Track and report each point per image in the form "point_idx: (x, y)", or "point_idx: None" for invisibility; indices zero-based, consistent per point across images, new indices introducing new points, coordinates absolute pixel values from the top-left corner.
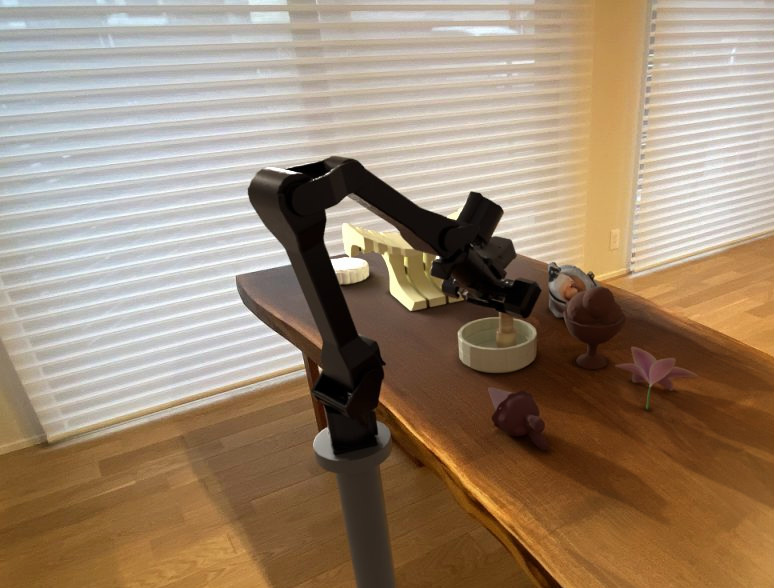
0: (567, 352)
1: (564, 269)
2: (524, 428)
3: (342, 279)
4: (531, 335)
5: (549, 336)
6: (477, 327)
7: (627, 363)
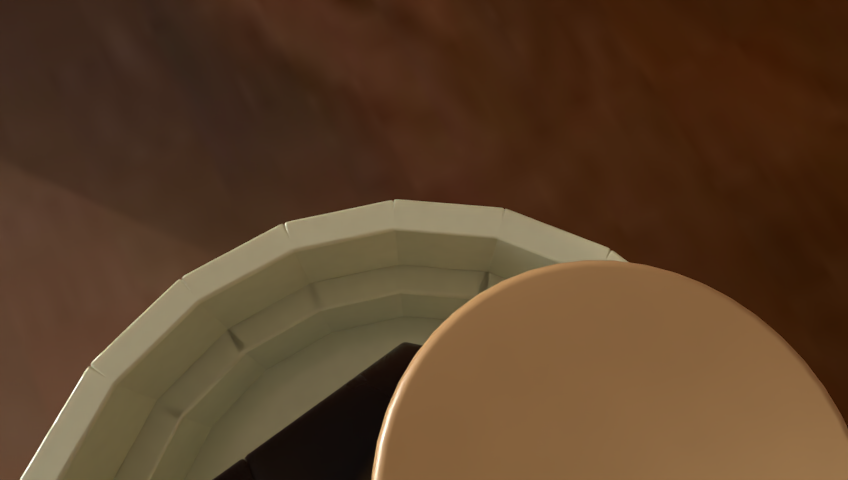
0: (825, 271)
1: None
2: None
3: None
4: None
5: (591, 108)
6: (125, 424)
7: None
